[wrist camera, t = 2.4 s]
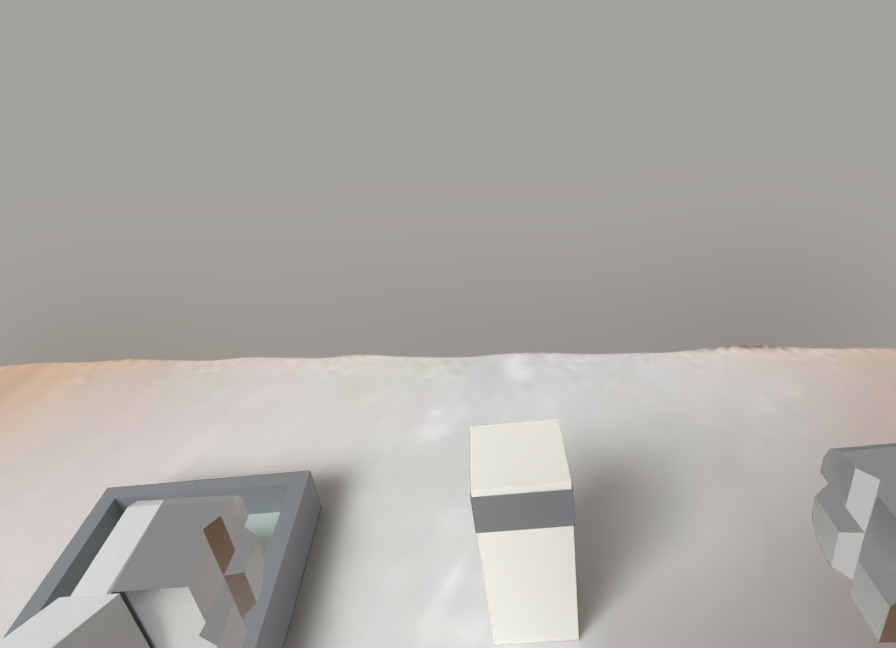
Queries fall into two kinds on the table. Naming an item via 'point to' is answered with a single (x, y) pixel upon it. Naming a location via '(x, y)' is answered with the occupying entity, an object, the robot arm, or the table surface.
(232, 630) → the robot arm
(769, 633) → the table surface
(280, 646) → the walled box
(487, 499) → the plastic plug
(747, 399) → the table surface
